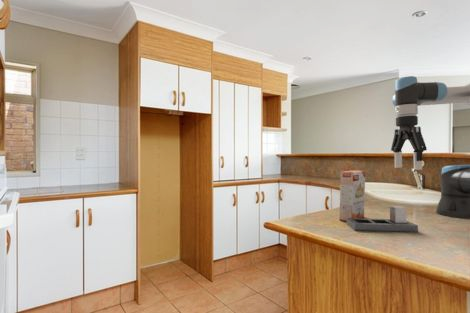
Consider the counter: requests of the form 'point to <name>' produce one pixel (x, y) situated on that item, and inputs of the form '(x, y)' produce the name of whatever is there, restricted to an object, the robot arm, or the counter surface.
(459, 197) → the robot arm
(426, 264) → the counter surface
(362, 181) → the cracker box
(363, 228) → the grey compartment tray
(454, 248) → the counter surface
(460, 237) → the counter surface
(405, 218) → the block
